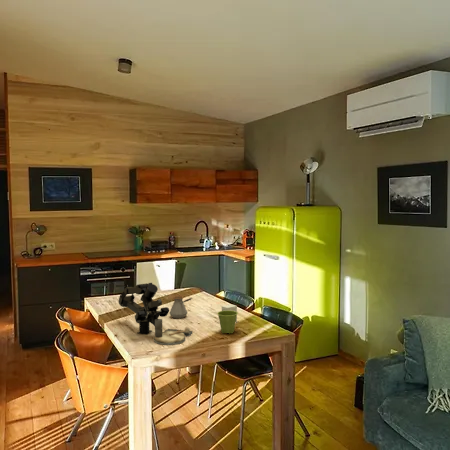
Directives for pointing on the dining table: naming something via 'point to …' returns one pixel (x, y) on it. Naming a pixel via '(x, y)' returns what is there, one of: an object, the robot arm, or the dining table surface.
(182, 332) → the base
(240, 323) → the dining table surface
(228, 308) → the small box
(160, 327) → the disc
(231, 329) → the plant pot
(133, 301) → the robot arm
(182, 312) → the coffee pot
